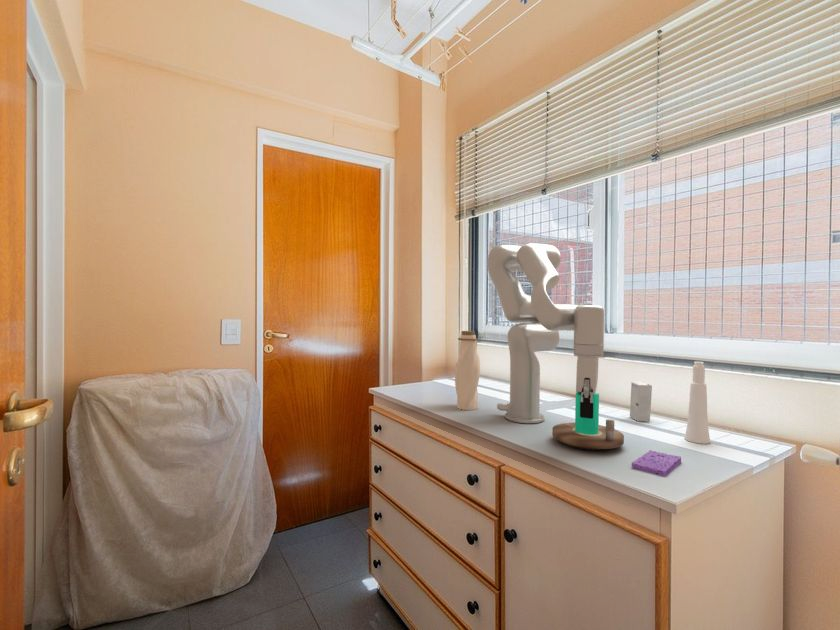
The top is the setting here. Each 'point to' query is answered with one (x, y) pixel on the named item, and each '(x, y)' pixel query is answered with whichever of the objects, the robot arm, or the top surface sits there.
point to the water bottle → (467, 372)
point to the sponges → (657, 463)
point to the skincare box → (640, 401)
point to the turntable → (589, 436)
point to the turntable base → (586, 448)
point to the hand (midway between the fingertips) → (587, 413)
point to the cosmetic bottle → (698, 408)
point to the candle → (587, 424)
